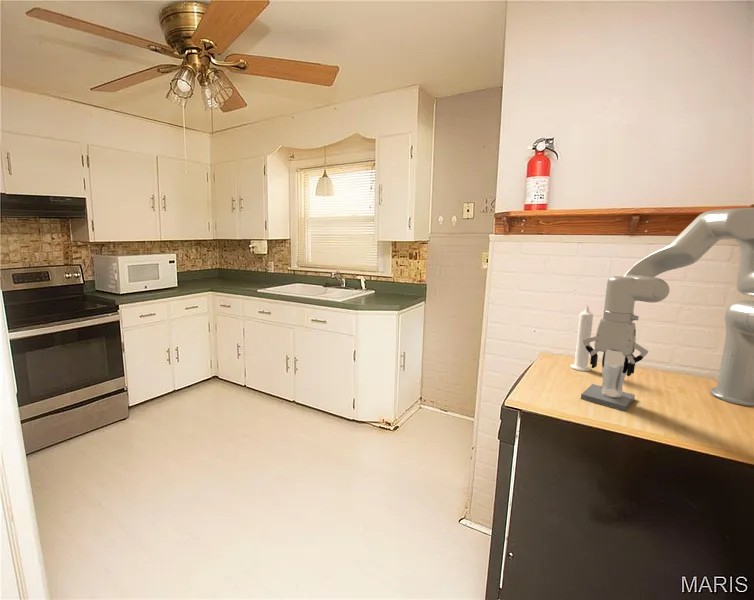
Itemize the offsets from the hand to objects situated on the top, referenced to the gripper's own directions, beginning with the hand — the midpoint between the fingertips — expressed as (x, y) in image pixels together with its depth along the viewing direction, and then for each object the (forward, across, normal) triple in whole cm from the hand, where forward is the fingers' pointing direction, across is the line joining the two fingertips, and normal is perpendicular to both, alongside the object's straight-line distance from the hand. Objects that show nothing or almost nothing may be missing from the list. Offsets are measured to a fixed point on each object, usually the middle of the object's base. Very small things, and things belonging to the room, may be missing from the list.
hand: (611, 370), depth 116 cm
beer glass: (+8, -1, 0) cm, 8 cm away
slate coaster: (+9, 0, 0) cm, 9 cm away
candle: (+9, +15, -25) cm, 31 cm away
